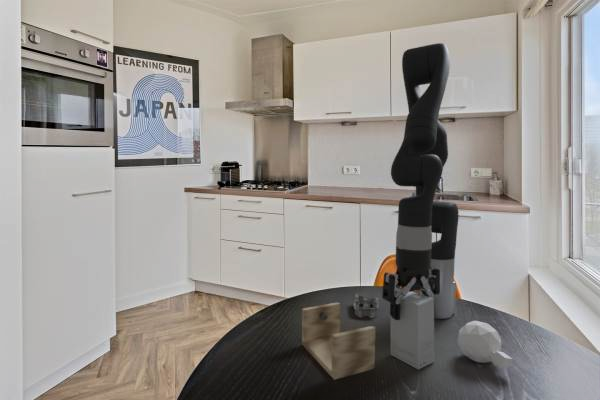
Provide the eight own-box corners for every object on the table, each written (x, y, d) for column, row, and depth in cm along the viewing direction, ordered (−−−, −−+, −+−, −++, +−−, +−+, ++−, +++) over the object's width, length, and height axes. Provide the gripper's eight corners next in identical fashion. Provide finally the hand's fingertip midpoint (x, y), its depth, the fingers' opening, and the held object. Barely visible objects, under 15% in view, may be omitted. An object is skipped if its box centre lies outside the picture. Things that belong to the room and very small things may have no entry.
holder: (337, 336, 95) (337, 302, 94) (374, 368, 80) (375, 328, 79) (302, 344, 90) (302, 308, 90) (334, 379, 76) (334, 337, 75)
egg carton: (355, 304, 117) (355, 292, 116) (379, 306, 115) (379, 294, 115) (352, 317, 107) (352, 304, 106) (378, 319, 105) (378, 306, 105)
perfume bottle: (443, 345, 86) (483, 379, 75) (458, 310, 85) (501, 339, 74) (469, 349, 90) (512, 383, 79) (484, 315, 89) (529, 344, 78)
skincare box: (434, 362, 82) (437, 298, 81) (417, 371, 79) (419, 304, 77) (405, 347, 89) (406, 287, 88) (387, 354, 86) (389, 292, 84)
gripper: (426, 239, 88) (423, 305, 89) (376, 244, 82) (374, 314, 84) (450, 245, 81) (447, 317, 82) (398, 251, 75) (395, 328, 77)
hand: (410, 315), depth 83 cm, fingers open, 8 cm apart
